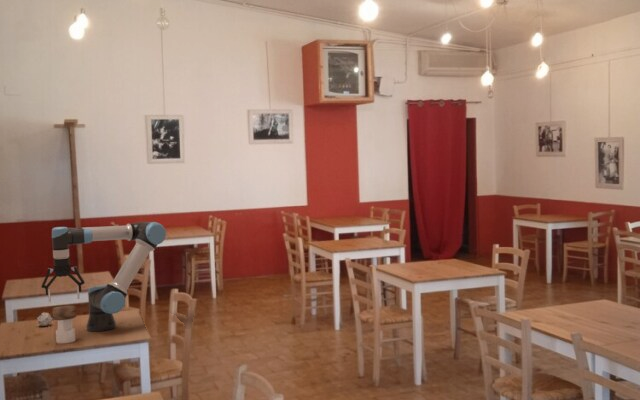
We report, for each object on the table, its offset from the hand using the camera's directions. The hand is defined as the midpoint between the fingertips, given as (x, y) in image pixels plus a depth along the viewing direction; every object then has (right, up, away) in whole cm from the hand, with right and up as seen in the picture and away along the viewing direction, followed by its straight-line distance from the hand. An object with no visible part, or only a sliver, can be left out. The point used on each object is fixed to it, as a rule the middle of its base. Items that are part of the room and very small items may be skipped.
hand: (64, 299), depth 339 cm
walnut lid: (0, -9, 0) cm, 9 cm away
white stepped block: (+1, -21, +1) cm, 21 cm away
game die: (-24, -20, +36) cm, 48 cm away
